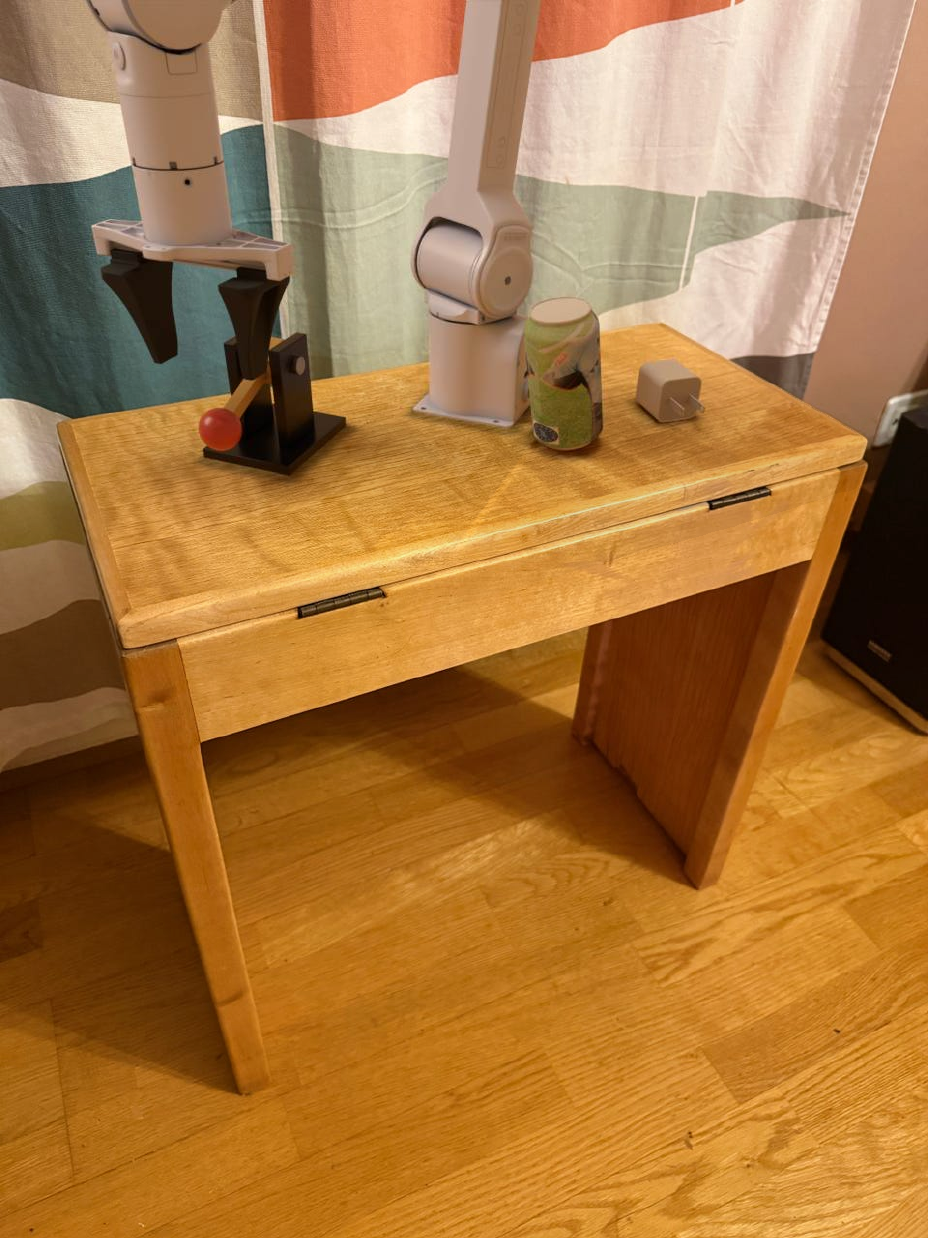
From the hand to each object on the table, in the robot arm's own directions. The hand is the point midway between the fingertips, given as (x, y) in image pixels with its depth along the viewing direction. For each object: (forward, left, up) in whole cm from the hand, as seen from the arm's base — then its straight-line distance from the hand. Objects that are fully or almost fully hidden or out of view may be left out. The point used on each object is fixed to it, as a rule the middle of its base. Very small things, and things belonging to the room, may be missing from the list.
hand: (210, 367), depth 66 cm
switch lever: (0, -4, -5) cm, 7 cm away
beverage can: (-22, -18, -10) cm, 30 cm away
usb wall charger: (-30, -27, -10) cm, 41 cm away
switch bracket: (0, -8, -10) cm, 12 cm away
